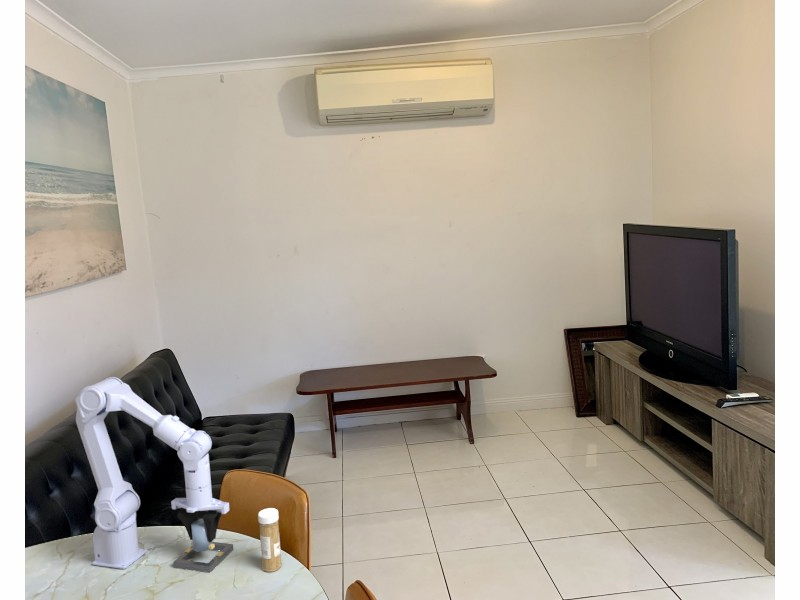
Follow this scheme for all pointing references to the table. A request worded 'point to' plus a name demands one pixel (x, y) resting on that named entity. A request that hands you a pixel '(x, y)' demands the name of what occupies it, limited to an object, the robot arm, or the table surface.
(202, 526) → the blue-grey rounded tapered piece
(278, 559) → the sprinkles bottle
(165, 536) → the table surface
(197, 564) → the collar
